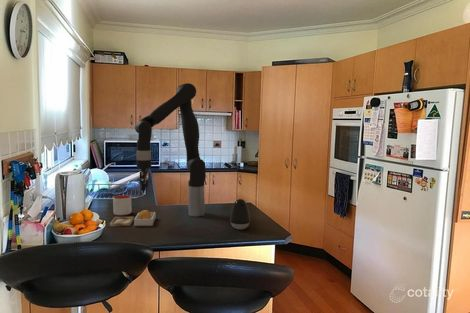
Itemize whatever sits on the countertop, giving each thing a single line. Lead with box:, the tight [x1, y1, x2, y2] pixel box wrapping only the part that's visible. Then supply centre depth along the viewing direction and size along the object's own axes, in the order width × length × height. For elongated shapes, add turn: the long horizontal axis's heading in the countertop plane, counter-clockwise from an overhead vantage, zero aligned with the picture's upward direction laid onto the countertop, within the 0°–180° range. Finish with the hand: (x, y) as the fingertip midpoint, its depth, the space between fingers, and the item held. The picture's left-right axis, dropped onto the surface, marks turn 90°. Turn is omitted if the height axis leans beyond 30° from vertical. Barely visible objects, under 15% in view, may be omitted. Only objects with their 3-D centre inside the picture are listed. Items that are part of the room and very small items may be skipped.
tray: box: [109, 216, 135, 227], centre depth 176 cm, size 10×12×2 cm
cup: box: [112, 194, 133, 217], centre depth 193 cm, size 10×10×10 cm
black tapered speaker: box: [229, 198, 251, 231], centre depth 168 cm, size 10×10×15 cm
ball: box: [139, 209, 151, 219], centre depth 177 cm, size 6×6×6 cm
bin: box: [133, 211, 156, 227], centre depth 178 cm, size 9×14×4 cm
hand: (144, 189), depth 176 cm, fingers open, 8 cm apart
